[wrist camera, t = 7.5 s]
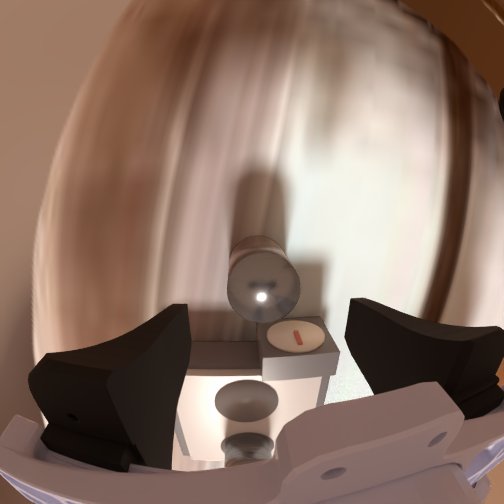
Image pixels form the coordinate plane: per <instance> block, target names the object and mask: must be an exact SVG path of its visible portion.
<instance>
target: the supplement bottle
mask: <svg viewBox="0 0 504 504" xmlns="http://www.w3.org/2000/svg"><path fill="white" fill-rule="evenodd" d="M500 108H501V113H502V117H503V120H504V88H503V89H502V91H501V93H500Z"/></svg>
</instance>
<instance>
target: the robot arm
mask: <svg viewBox="0 0 504 504" xmlns="http://www.w3.org/2000/svg"><path fill="white" fill-rule="evenodd" d="M344 337H345V340H346V343H347V346H348V348H349V350H350V353H351V355H352V357H353V358H354V360H355V362H356V364H357V365H358V367H359V369H360V370H361V372H362V374H363V375H364V377H365V379H366V381H367V382H368V384H369V386H370V388H371V390H372V391H373V393H374V395H373V396H368V397H363V398H358V399H353V400H348V401H342V402H336V403H330V404H326V405H323V406H320V407H317V408H313V409H310V410H306V411H304V412H303V413H301V414H300V415H298V416H297V417H295V418H294V419H292V420H291V421H289V422H288V423H286V424H285V425H284V426H283V428H282V429H281V431H280V433H279V435H278V436H277V438H276V441H275V450H274V455H273V457H272V459H267V460H263V461H258V462H253V463H248V464H243V465H237V466H231V467H225V468H218V469H210V470H201V471H190V472H185V471H175V470H172V451H173V438H174V428H175V420H176V412H177V406H178V401H179V397H180V394H181V390H182V387H183V383H184V380H185V376H186V372H187V369H188V365H189V361H190V354H191V346H192V342H191V334H190V325H189V316H188V307H187V304H172V305H170V306H169V307H167V308H166V309H164V310H163V311H161V312H160V313H159V314H157V315H156V316H154V317H153V318H151V319H150V320H148V321H147V322H145V323H143V324H142V325H140V326H139V327H137V328H135V329H134V330H132V331H130V332H128V333H126V334H124V335H122V336H119V337H117V338H115V339H112V340H109V341H107V342H104V343H101V344H98V345H95V346H91V347H87V348H83V349H78V350H72V351H65V352H55V353H46V354H45V356H44V357H43V358H42V359H41V360H40V361H39V363H38V364H37V365H36V366H35V367H34V369H33V370H32V371H31V372H30V373H29V376H28V383H29V388H30V391H31V393H32V395H33V397H34V399H35V401H36V403H37V405H38V406H39V408H40V410H41V411H42V413H43V415H44V416H45V418H46V419H47V421H48V425H47V427H46V428H45V429H44V428H43V427H41V426H40V425H39V424H37V423H35V422H33V421H31V420H28V419H26V418H24V417H21V416H19V415H15V416H14V418H13V419H12V420H11V422H10V423H9V425H8V426H7V428H6V429H5V431H4V432H3V434H2V435H1V437H0V474H1V475H2V476H3V477H4V478H5V479H6V480H7V481H8V482H9V483H10V484H11V485H12V486H13V487H15V488H16V489H17V490H18V491H19V492H20V493H21V494H22V495H24V496H25V497H26V498H27V499H29V500H30V501H32V502H34V503H36V504H484V502H485V500H486V498H487V496H488V494H489V492H490V490H491V487H490V485H491V482H490V480H489V478H488V476H487V475H486V473H487V472H489V471H490V470H491V469H492V468H494V467H495V466H496V465H497V464H498V463H500V462H501V461H502V460H503V459H504V385H503V386H502V387H501V388H500V387H499V386H498V385H497V383H498V382H499V378H498V377H497V376H496V375H495V374H496V372H497V370H498V368H499V366H500V364H501V362H502V359H503V357H504V330H503V329H502V328H500V327H498V326H488V327H463V326H453V325H446V324H440V323H435V322H431V321H427V320H423V319H420V318H417V317H414V316H411V315H408V314H405V313H403V312H400V311H397V310H395V309H392V308H390V307H388V306H385V305H383V304H380V303H378V302H375V301H372V300H370V299H366V298H351V299H350V306H349V312H348V319H347V325H346V331H345V336H344ZM474 488H475V489H474Z"/></svg>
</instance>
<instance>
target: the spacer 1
mask: <svg viewBox="0 0 504 504" xmlns="http://www.w3.org/2000/svg"><path fill="white" fill-rule="evenodd" d="M299 295H300V281H299V277H298V275H297V273H296V271H295V269H294V268H293V266H292V265H291V263H290V261H289V260H288V258H287V257H286V255H285V253H284V252H283V250H282V249H281V247H280V246H279V245H278V244H277V243H276V242H275V241H273V240H272V239H270V238H267V237H264V236H252V237H249V238H246V239H244V240H242V241H241V242H239V243H238V244H237V245H236V246H235V248H234V249H233V251H232V253H231V256H230V260H229V272H228V284H227V296H228V300H229V302H230V305H231V306H232V308H233V309H234V311H235V312H236V313H237V314H238V315H240V316H241V317H243V318H244V319H246V320H249V321H252V322H257V323H268V322H273V321H276V320H278V319H280V318H282V317H284V316H285V315H287V314H288V313H289V312H290V311H291V310H292V309H293V307H294V306H295V304H296V303H297V301H298V298H299Z"/></svg>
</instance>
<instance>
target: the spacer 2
mask: <svg viewBox="0 0 504 504" xmlns="http://www.w3.org/2000/svg"><path fill="white" fill-rule="evenodd" d="M267 459H272V454H271V447H270V441H269V439H268V438H267V437H265V436H263V435H261V434H257V433H240V434H236V435H233V436H231V437H229V438H228V439H227V440H226V442H225V467H231V466H237V465H243V464H248V463H253V462H258V461H263V460H267Z"/></svg>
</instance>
